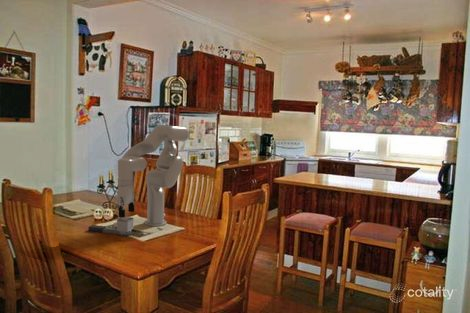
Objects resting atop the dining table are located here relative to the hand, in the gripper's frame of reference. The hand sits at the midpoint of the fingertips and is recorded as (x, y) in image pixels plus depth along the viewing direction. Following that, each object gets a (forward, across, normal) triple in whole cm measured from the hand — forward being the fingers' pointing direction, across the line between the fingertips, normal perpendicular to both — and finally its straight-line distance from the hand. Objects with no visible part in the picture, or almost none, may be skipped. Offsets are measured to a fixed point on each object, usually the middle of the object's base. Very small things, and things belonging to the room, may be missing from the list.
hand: (126, 214), depth 197 cm
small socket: (+11, -4, -8) cm, 14 cm away
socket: (+8, +1, 0) cm, 8 cm away
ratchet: (+10, +2, -9) cm, 14 cm away
